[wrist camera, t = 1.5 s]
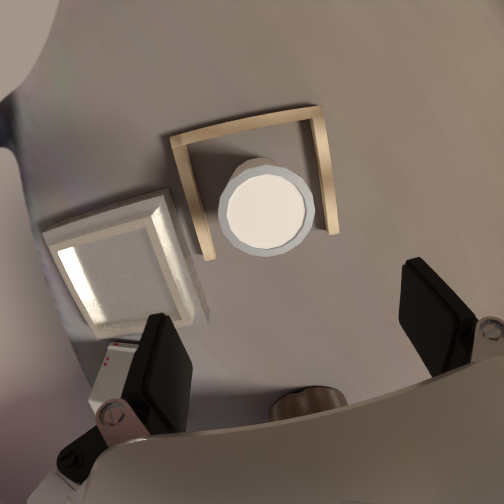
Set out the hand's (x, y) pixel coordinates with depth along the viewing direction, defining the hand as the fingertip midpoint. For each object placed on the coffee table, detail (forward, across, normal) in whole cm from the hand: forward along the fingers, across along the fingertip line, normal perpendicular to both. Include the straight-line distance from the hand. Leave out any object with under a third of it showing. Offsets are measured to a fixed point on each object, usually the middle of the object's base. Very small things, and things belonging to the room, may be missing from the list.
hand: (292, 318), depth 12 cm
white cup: (+18, 0, 0) cm, 18 cm away
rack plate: (+18, +15, +5) cm, 24 cm away
